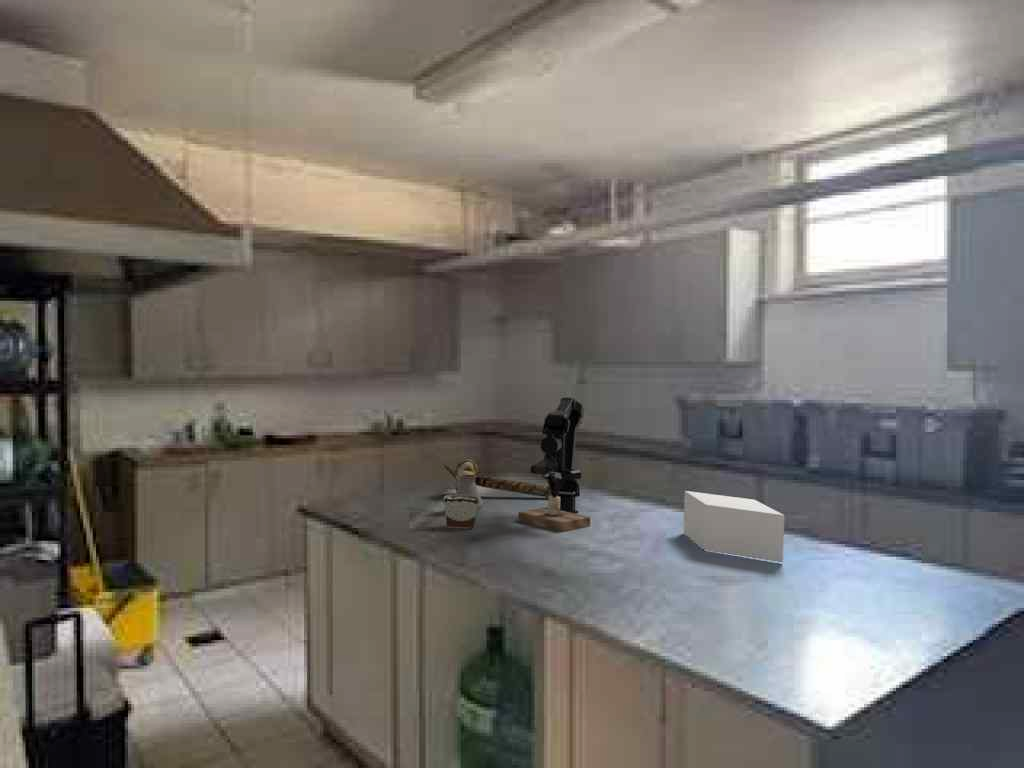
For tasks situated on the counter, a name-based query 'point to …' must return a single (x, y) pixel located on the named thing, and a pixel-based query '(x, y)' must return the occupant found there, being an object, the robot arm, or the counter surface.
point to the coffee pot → (467, 486)
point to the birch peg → (553, 506)
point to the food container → (460, 510)
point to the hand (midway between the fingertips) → (554, 497)
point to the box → (734, 526)
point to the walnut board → (554, 520)
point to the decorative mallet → (498, 481)
